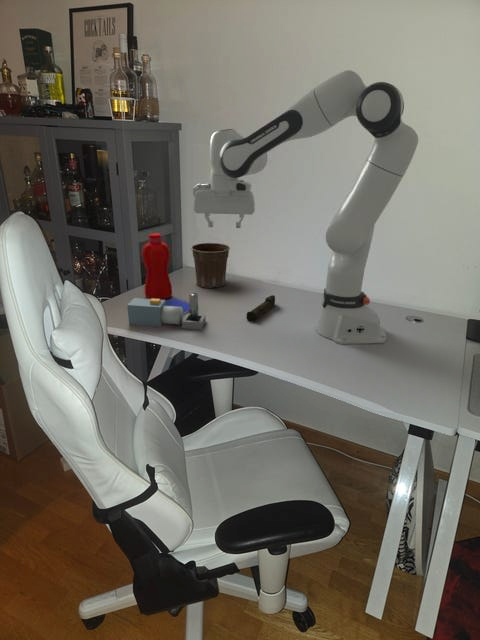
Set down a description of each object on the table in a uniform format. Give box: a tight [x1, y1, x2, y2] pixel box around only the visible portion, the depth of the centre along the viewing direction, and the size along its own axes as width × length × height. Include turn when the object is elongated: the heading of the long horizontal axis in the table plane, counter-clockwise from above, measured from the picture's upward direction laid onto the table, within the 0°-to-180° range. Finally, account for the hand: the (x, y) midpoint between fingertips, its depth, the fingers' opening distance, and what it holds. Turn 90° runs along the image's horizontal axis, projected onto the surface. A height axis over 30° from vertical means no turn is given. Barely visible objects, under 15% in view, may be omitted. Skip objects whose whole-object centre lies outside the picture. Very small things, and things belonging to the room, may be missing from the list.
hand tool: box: [246, 294, 276, 323], centre depth 148 cm, size 19×4×5 cm, turn 148°
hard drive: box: [165, 297, 190, 315], centre depth 152 cm, size 2×8×12 cm
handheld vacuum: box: [126, 297, 207, 331], centre depth 137 cm, size 25×7×8 cm, turn 83°
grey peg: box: [188, 292, 200, 321], centre depth 136 cm, size 4×4×11 cm
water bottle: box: [141, 232, 173, 301], centre depth 156 cm, size 9×11×25 cm
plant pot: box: [190, 242, 231, 289], centre depth 173 cm, size 16×16×16 cm
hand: (224, 227), depth 138 cm, fingers open, 8 cm apart
